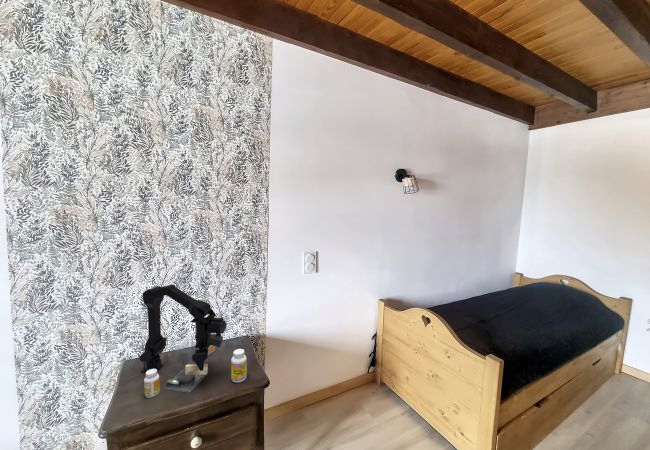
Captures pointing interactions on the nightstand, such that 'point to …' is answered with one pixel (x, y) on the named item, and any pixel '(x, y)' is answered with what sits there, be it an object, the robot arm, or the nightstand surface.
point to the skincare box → (211, 347)
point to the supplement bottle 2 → (238, 366)
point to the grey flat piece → (185, 387)
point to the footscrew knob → (191, 373)
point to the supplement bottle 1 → (151, 383)
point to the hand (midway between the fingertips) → (203, 364)
